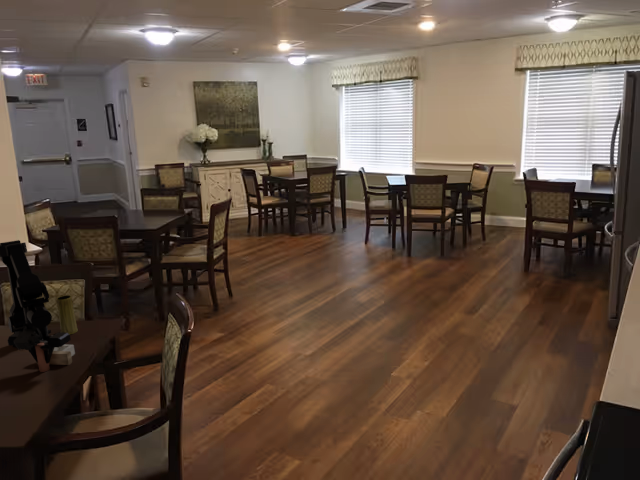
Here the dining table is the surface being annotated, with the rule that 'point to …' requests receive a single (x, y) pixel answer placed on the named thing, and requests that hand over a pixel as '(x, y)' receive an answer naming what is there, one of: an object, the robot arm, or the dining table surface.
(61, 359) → the backstop
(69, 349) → the socket block
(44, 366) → the peg
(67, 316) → the olive ribbed cylinder
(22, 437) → the dining table surface
